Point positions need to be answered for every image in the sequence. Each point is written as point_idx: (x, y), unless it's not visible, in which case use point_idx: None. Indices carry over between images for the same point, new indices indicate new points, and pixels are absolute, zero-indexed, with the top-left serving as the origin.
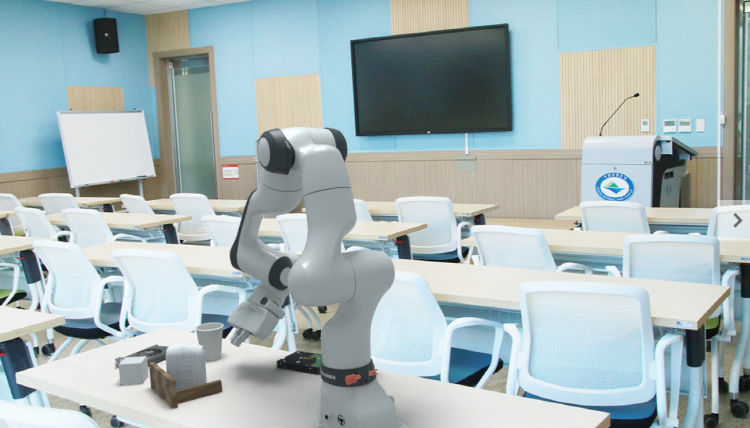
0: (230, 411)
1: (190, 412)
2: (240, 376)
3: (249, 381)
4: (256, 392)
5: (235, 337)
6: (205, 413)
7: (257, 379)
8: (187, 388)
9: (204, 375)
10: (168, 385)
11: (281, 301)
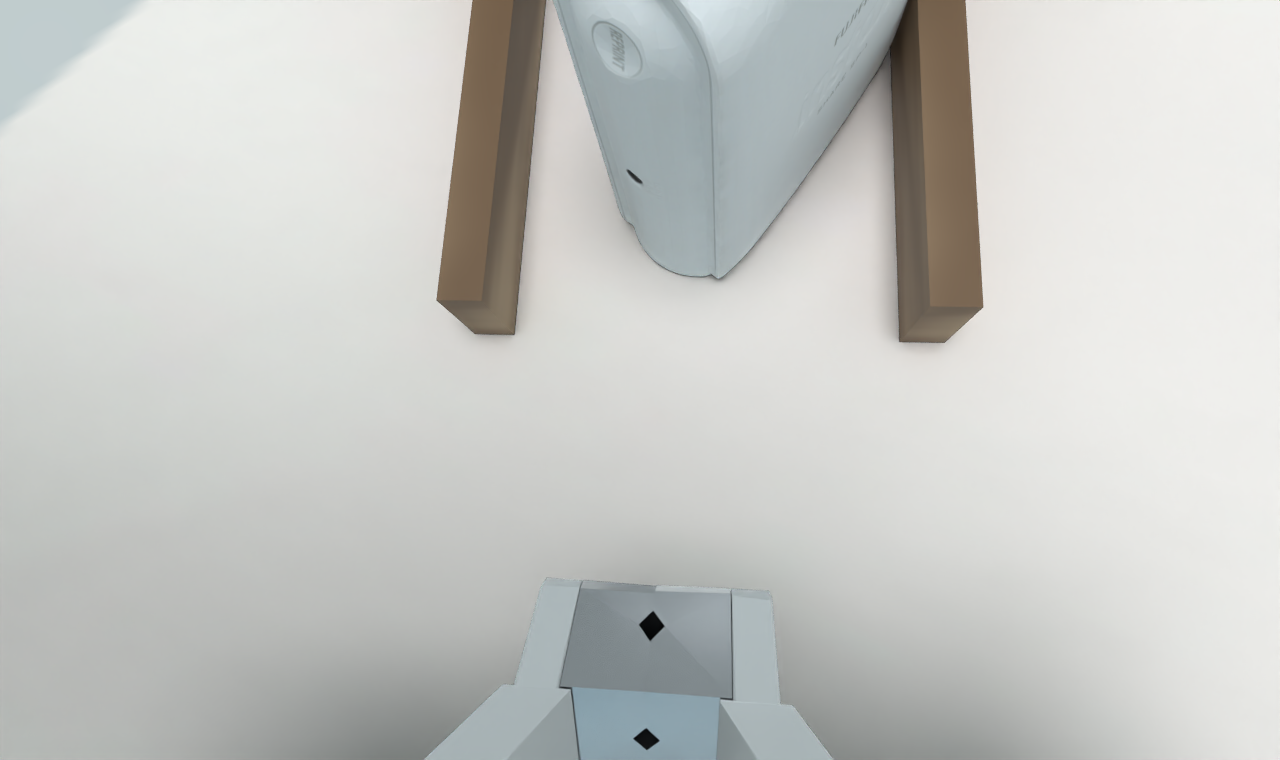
0: (91, 226)
1: (297, 17)
2: None
3: None
4: (238, 555)
5: (723, 725)
6: (202, 86)
7: None
8: (494, 3)
9: (623, 187)
10: None
11: None
